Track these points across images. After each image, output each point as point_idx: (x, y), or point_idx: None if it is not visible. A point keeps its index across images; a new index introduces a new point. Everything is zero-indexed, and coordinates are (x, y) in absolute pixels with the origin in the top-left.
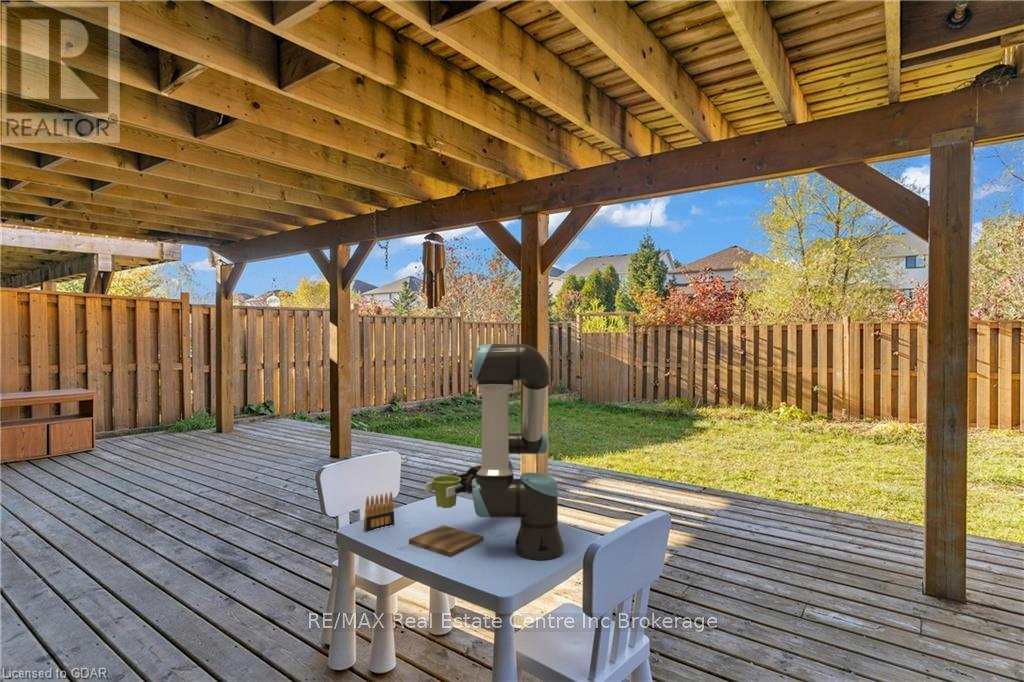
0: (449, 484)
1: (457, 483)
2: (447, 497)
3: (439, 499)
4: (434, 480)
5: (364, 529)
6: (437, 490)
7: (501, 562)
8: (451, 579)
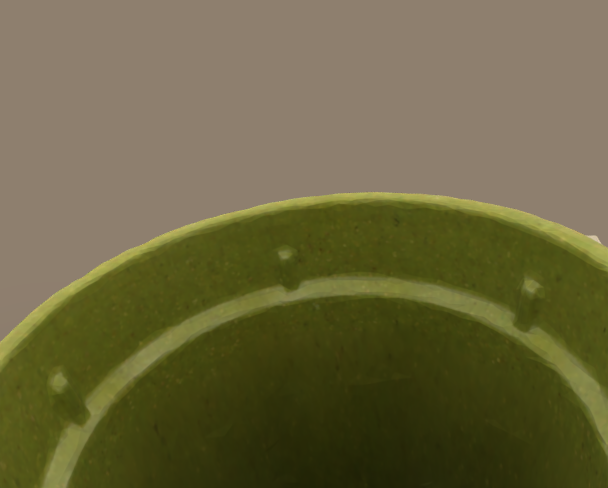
0: (148, 285)
1: (26, 411)
2: (237, 455)
3: (356, 445)
4: (594, 314)
5: None
6: (371, 337)
7: None
8: None
